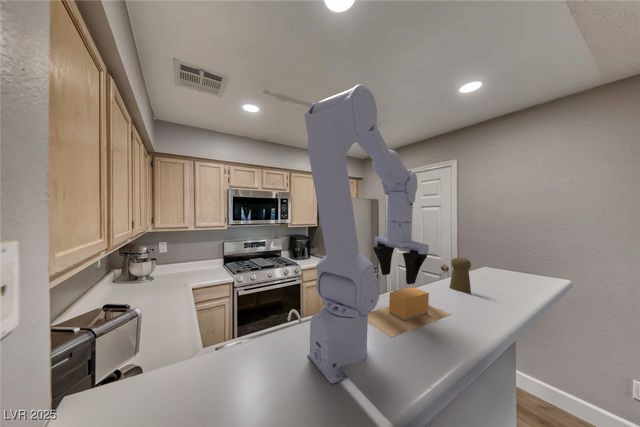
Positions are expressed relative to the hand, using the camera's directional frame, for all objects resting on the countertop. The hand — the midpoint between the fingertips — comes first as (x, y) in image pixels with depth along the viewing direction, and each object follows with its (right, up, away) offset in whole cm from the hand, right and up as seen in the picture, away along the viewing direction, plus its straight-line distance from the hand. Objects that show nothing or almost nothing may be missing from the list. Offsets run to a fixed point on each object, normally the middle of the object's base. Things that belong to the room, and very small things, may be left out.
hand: (397, 278), depth 55 cm
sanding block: (+2, -8, -1) cm, 8 cm away
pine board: (+1, -9, -2) cm, 10 cm away
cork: (+25, -10, +17) cm, 32 cm away
